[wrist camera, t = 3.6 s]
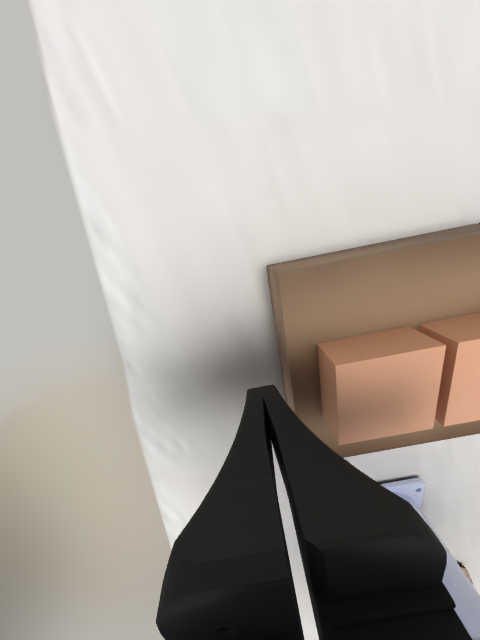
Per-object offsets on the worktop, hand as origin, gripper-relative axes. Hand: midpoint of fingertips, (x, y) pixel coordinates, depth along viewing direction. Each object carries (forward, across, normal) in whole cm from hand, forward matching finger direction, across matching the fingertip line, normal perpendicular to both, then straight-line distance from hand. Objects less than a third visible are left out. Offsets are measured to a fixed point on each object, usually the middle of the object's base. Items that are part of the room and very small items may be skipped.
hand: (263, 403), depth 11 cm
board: (+4, -7, 0) cm, 8 cm away
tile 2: (+1, -5, 0) cm, 5 cm away
